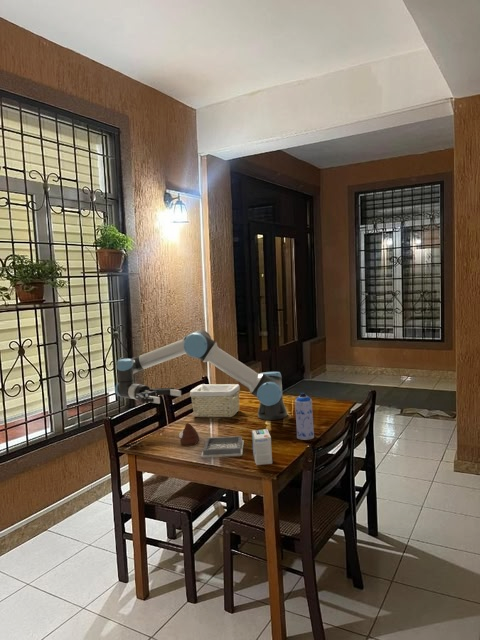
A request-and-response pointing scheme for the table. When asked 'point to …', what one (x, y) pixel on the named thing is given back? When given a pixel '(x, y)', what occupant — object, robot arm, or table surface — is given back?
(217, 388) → the storage basket
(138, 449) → the table surface
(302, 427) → the aerosol can
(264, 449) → the light bulb box
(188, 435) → the poop emoji
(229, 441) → the mousse holder
